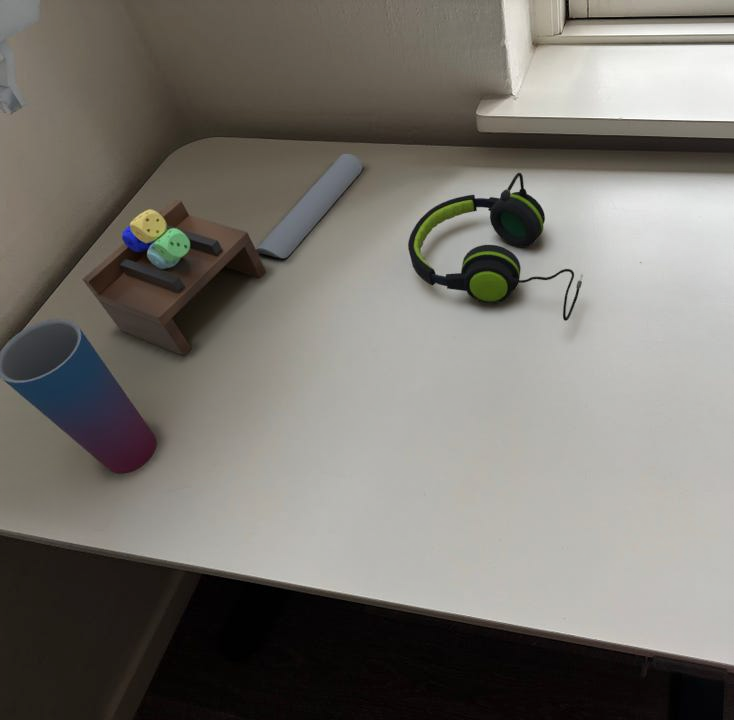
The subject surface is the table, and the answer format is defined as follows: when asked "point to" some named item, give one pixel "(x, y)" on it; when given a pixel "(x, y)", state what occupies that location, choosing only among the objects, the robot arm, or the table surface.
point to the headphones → (488, 262)
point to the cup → (77, 393)
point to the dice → (156, 239)
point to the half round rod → (311, 207)
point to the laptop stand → (169, 277)
